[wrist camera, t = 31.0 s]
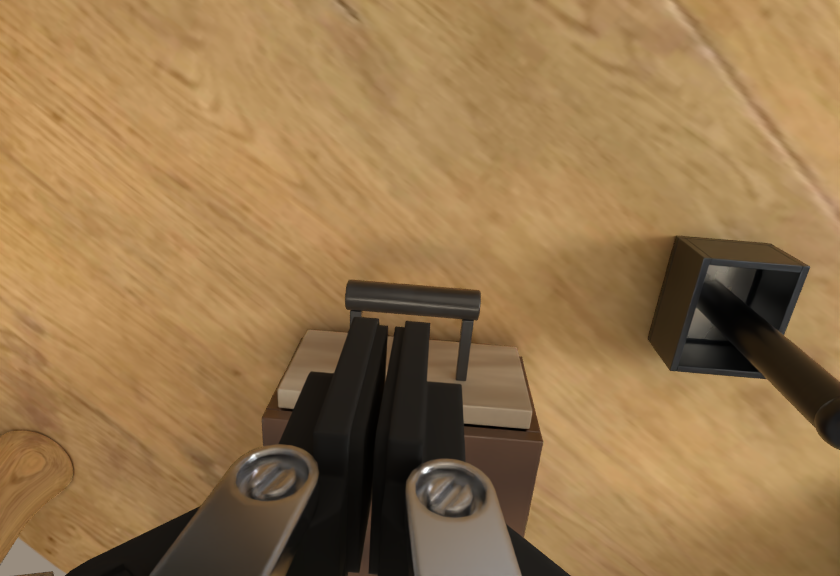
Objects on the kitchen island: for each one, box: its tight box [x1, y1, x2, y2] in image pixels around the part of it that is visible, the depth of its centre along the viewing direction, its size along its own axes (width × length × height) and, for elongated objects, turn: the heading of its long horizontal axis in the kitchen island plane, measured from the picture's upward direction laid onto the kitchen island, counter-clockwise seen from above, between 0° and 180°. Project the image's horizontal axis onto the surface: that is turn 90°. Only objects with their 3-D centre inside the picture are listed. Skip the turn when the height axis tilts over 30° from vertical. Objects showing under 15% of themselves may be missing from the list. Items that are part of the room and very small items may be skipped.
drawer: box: [277, 280, 532, 430], centre depth 33 cm, size 22×13×7 cm, turn 176°
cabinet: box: [262, 338, 543, 576], centre depth 35 cm, size 18×15×9 cm
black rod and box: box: [648, 236, 840, 450], centre depth 27 cm, size 7×6×14 cm
